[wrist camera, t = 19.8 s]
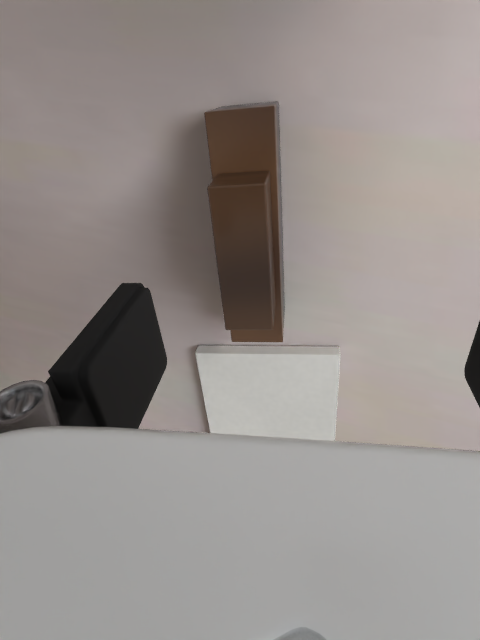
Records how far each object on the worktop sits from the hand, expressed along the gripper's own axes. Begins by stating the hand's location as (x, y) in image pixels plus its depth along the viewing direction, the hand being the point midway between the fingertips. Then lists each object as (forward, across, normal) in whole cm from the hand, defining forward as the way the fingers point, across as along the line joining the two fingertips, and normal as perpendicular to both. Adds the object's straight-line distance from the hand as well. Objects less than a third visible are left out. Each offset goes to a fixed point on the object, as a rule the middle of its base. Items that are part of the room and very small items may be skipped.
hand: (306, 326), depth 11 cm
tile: (+12, +3, +17) cm, 21 cm away
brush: (+12, +3, +1) cm, 13 cm away
